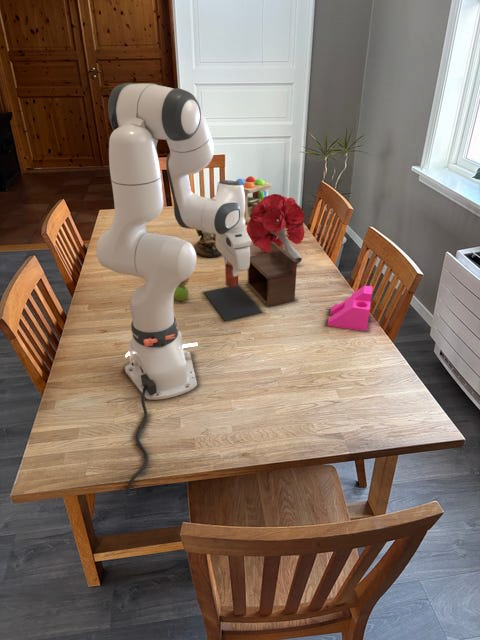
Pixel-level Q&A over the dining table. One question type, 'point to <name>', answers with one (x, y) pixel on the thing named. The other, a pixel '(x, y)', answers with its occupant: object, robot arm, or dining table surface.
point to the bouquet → (277, 224)
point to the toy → (230, 276)
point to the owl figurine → (207, 244)
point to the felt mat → (232, 303)
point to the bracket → (353, 310)
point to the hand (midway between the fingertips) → (231, 271)
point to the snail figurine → (181, 291)
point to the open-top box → (273, 276)
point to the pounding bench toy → (258, 190)
